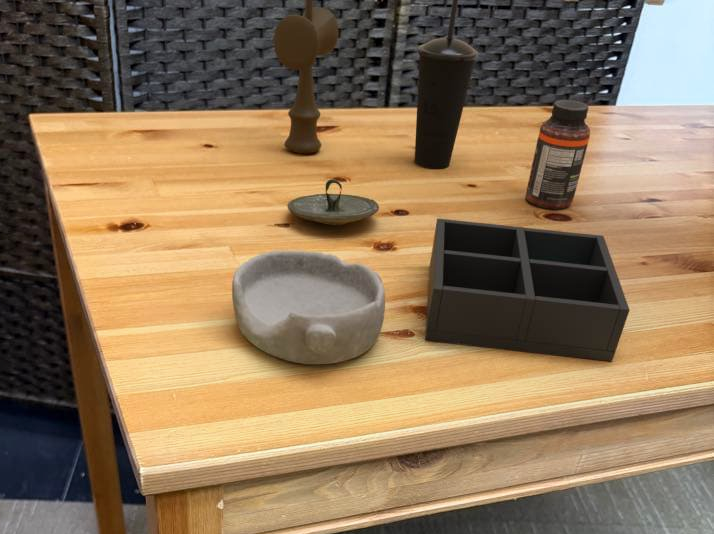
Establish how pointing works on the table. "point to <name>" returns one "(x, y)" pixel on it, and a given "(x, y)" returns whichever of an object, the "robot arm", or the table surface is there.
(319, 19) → the kendama
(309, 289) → the dish
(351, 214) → the lid
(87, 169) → the table surface
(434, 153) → the drinking cup
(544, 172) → the supplement bottle
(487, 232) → the compartment organizer box
